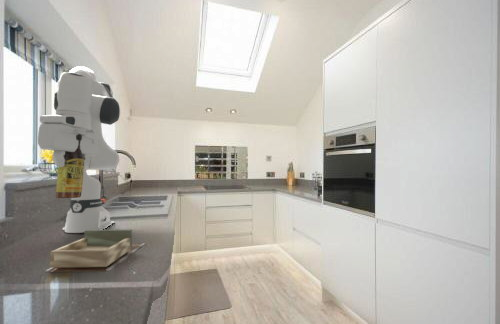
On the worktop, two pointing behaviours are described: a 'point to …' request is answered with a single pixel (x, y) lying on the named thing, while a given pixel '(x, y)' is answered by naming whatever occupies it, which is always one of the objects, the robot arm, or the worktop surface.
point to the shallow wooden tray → (93, 249)
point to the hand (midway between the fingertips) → (71, 167)
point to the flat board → (70, 269)
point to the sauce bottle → (71, 174)
